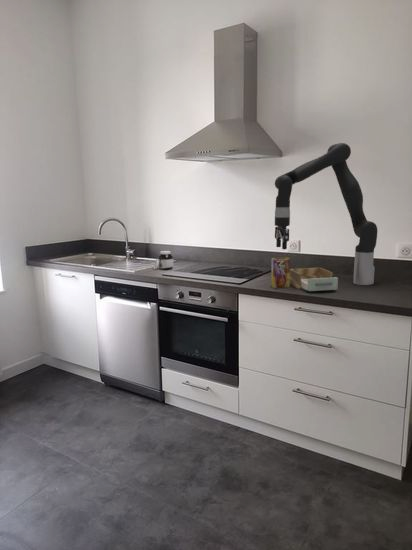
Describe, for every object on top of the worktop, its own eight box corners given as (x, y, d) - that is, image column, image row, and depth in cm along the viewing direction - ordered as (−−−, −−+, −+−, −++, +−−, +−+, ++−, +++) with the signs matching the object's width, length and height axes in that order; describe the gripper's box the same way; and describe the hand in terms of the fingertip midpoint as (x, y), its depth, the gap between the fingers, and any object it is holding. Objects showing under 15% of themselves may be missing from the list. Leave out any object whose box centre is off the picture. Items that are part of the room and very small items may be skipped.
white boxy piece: (325, 283, 215) (325, 272, 214) (338, 290, 201) (339, 278, 200) (297, 285, 213) (298, 274, 212) (309, 291, 199) (310, 279, 198)
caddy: (319, 281, 225) (320, 267, 223) (331, 287, 211) (332, 272, 210) (288, 283, 222) (289, 269, 220) (298, 289, 209) (299, 274, 207)
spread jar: (175, 269, 268) (174, 251, 266) (161, 271, 261) (160, 253, 258) (164, 267, 277) (163, 249, 274) (150, 269, 269) (149, 251, 267)
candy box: (287, 285, 218) (288, 257, 215) (289, 287, 213) (290, 258, 210) (270, 286, 217) (271, 257, 214) (272, 288, 213) (273, 259, 210)
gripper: (294, 217, 201) (293, 249, 204) (284, 215, 215) (283, 246, 218) (280, 217, 200) (279, 250, 203) (270, 215, 213) (269, 246, 217)
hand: (281, 248), depth 210 cm, fingers open, 8 cm apart
